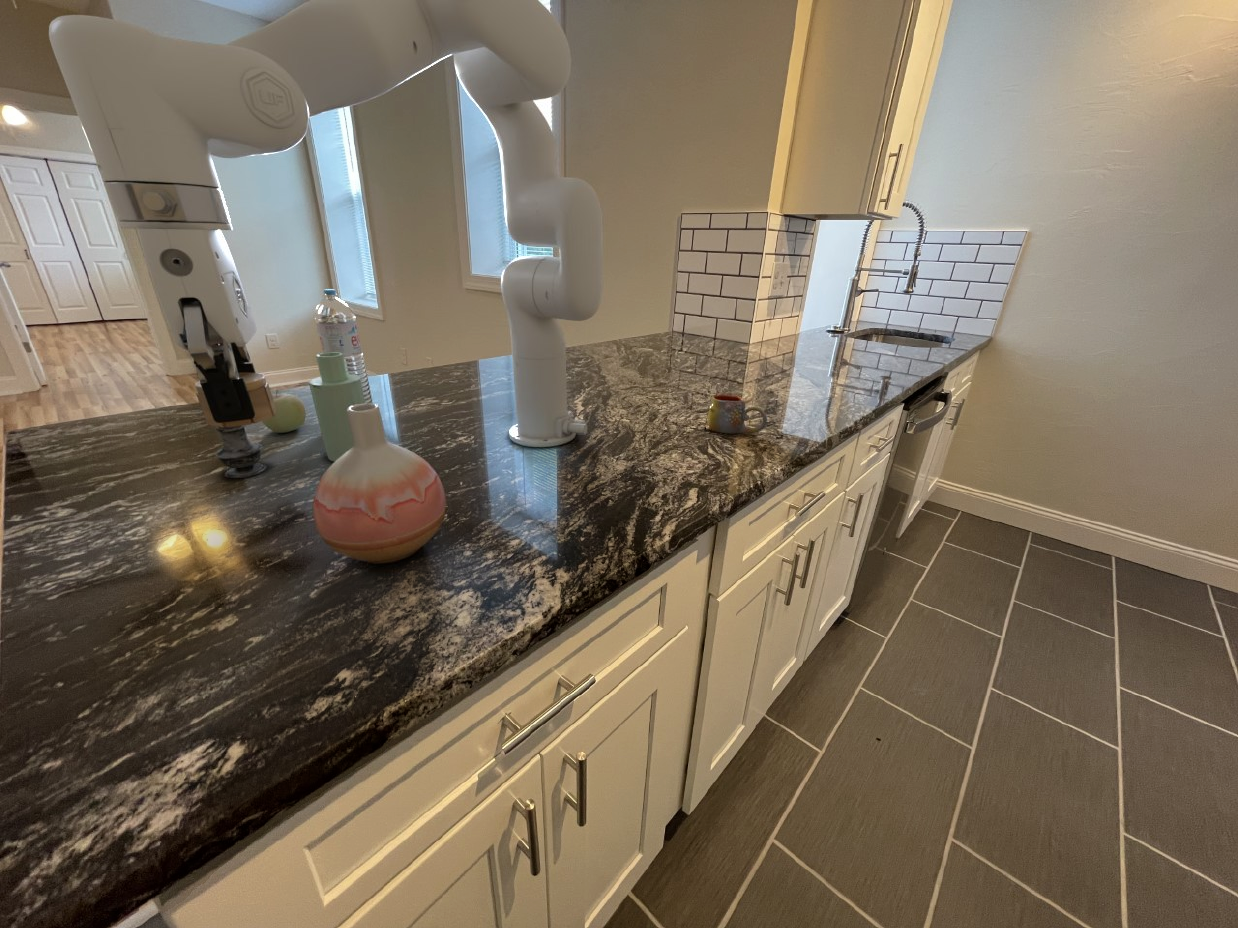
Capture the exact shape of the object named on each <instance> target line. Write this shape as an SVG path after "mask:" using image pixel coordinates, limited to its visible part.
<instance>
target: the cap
mask: <svg viewBox="0 0 1238 928" xmlns="http://www.w3.org/2000/svg"><path fill="white" fill-rule="evenodd" d="M238 375H239V378H242V377H243V378H244V381H245V384H246V387H247V390H248V393H249V396H250V399H251V402H252V405H253V408H254V411H255V416H254V418H253V419H248V420H240V421H232V422H224V423H217V422H215V421H214V419H213V416H212V414H211V411H210V408H209V405H208V403H207V400H206V397H205V395H204V392H203V389H202V386H201V384H200V380H198V381H195V383H194V387H195V389H196V393H195V396H196V397H197V401H198V403H199V406H200V408H201V411H202V413H203V416H204V419H205V421H206V425H208V426H211V427H216V428H218V427H223V428H224V427H235V426H243V425H246V426H249V425H252V424H258V423H260V422H261V423H262V421H264V420H267V419H269V418H272V417H273V416H275V413H276V407H275V404H274V401H273V398H272V396H273V395H272V391H271V388H270V385H269V382H268V381H267V380H266V379H267V378H266V376H265V374H263V373H259V372H256V373H238Z"/></svg>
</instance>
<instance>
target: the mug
mask: <svg viewBox="0 0 1238 928" xmlns="http://www.w3.org/2000/svg"><path fill="white" fill-rule="evenodd" d="M708 409H709V410H708V413H707V426H706V430H707V431H713V432H715V433H720V434H728V435H729V434H730V435H731V434H746V435H747V434H749V435H750V434H755V433H759V432H761V431H762V430H764V428H765V427H766V426H767V423H768V416H767V414H766V411H764V410H763V409H762V408H761V407H760V406H750V407H748V408H746V401H745V400H744V399H743V398H742V397H741V396H739V395H732V394H731V395H730V394H714V395H712V396H711V404H710V406H709V408H708ZM752 411H756V412H759V414H760V415H761V417H762V422H761V423H760V424H759V425H757V427H747V426H746V424H745V422H746V421H749V420H750V415H749V414H748V413H749V412H752Z"/></svg>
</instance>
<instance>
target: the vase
mask: <svg viewBox="0 0 1238 928" xmlns="http://www.w3.org/2000/svg"><path fill="white" fill-rule="evenodd" d="M347 415H348V420H349V425H350V430H351V435H352V441H353V447H352V448H351V449H350V450H348V451H347V452H346V453H344V454H343V455H342V456H341V457H339V458H338V459H337V460H336V461H335V462H334V461H333V463H332V464H331V465H330V466H329V467H328V468H327V470H325V472H324V473H323V475H322V476H321V478H320V479H319V482H318V484H317V486H316V489H315V491H314V496H313V503H312V504H313V505H312V512H313V513H312V515H313V516H312V517H313V521H314V525H315V527H316V530H317V533H318V534H319V537H320V538H321V539H322V540H323V542H324V544H326V545H327V546H328V547H329V548H331V549H332V550H334V551H335V552H336V553H338V554H340V555H342V556H343V557H346V558H349V559H352V560H356V561H360V562H361V561H362V562H364V563H368V564H375V565H378V564H379V565H381V564H382V565H383V564H389V563H395V562H399V561H402V560H404V559H407V558H409V557H410V556H412V555H414V554H416V553H417V552H418V551H419V550H420V549H421V548H422V547H423V546H425V545H426V544H427V543H428V542H430V540H432V539H433V537H434V536H435V535H436V534H437V532H438V531H439V529H440V528H441V526H442V524H443V522H444V519H445V516H446V512H447V495H446V491H445V488H444V485H443V483H442V480H441V477H440V476H439V474H438V473H437V471H436V470H435V469H434V467H432V465H430V463H429V462H428V461H427V460H425V459H424V458H423V457H421V456H420V455H418V454H417V453H415V452H414V451H411V450H409V449H408V448H406V447H403V446H401V445H397V444H394V443H392V442H390V441H388V440H387V436H386V432H385V427H384V423H383V418H382V413H381V408H380V406H379V405H378V404H376V403H373V404H372V403H364V404H357V405H353V406H351V407H349V408H348V409H347Z"/></svg>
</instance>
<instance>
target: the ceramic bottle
mask: <svg viewBox="0 0 1238 928" xmlns="http://www.w3.org/2000/svg"><path fill="white" fill-rule="evenodd" d="M315 359H316V362H317V366H318V371H319V374H320V375H319V376H318V377H314V378H312V379H310V380H309V381H308V386H309V389H310V393H311V397H312V401H313V405H314V409H315V413H316V417H317V421H318V425H319V429H320V433H321V437H322V440H323V445H324V448H325V452H326V456H327V459H328V460H329V461H331V462H333V463H334V462H335V461H336V460H337V459H338V458H339V457H341V456H342V455H343V454H344V453H346V452H347V451H348V450H350V449H351V448H352V447H353V441H352V435H351V430H350V425H349V420H348V415H347V409H348V408H349V407H351V406H353V405H357V404H364V403H365V399H364V394H363V389H362V384H361V379H360V376H358V375H353V374H347V371H346V367H345V362H344V357H343V354H342V353H339V352H328V353H323V352H322V353H317V354H316V355H315Z"/></svg>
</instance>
